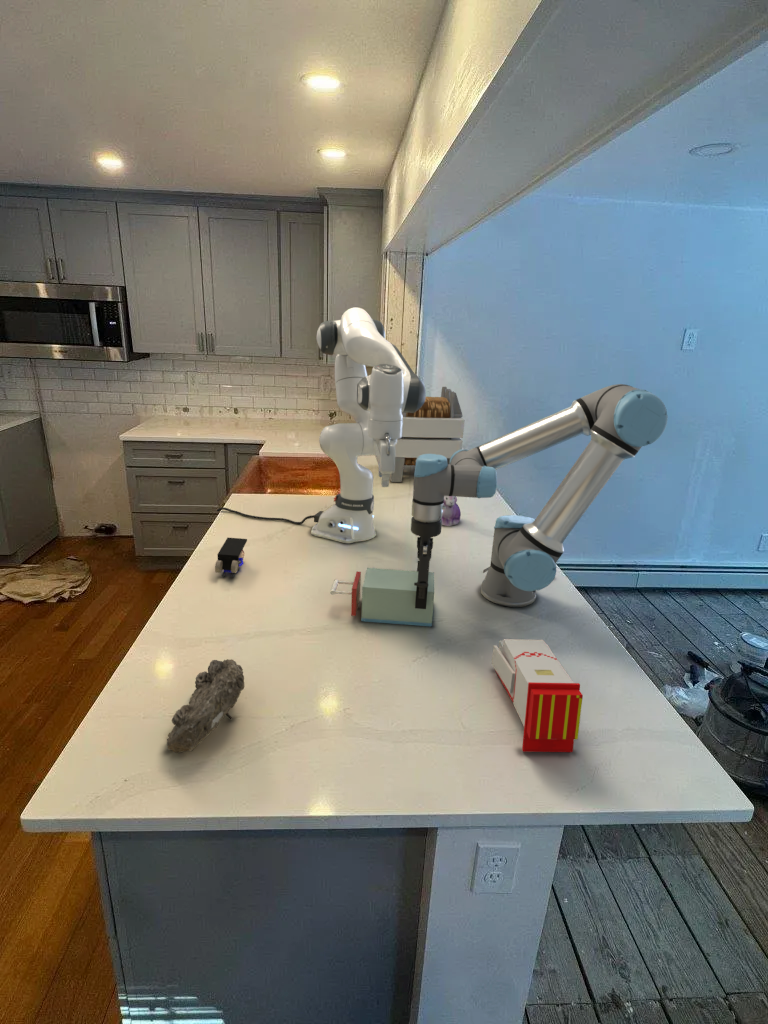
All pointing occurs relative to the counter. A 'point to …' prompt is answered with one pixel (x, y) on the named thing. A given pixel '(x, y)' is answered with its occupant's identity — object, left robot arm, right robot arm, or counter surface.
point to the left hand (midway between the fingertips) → (383, 481)
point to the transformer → (429, 431)
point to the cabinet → (395, 597)
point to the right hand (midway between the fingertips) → (420, 595)
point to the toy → (539, 694)
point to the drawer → (354, 593)
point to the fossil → (206, 705)
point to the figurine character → (230, 556)
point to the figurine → (450, 511)
